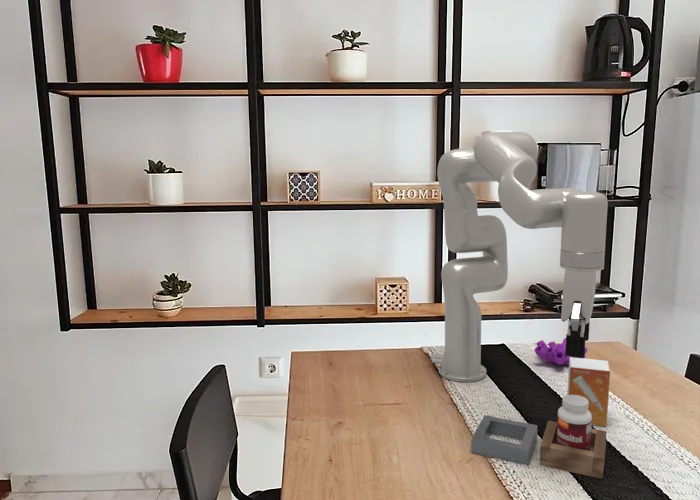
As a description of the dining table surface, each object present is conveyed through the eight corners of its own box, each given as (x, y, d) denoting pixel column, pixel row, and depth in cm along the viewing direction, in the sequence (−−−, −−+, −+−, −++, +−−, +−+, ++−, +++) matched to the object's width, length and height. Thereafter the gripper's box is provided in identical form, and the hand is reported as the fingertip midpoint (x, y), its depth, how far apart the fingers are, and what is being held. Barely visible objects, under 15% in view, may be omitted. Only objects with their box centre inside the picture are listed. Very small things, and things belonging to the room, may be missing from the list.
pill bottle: (551, 453, 108) (553, 401, 107) (562, 440, 113) (564, 390, 111) (583, 464, 104) (586, 409, 103) (594, 450, 109) (597, 398, 107)
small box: (567, 422, 123) (569, 366, 120) (566, 409, 129) (568, 356, 126) (607, 427, 120) (610, 370, 118) (604, 414, 126) (607, 359, 123)
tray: (539, 465, 107) (540, 445, 106) (547, 438, 116) (548, 420, 115) (602, 478, 102) (603, 458, 101) (605, 449, 111) (606, 431, 111)
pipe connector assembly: (587, 375, 155) (600, 356, 148) (536, 379, 154) (547, 360, 147) (571, 341, 163) (583, 322, 156) (522, 344, 161) (532, 325, 154)
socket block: (471, 452, 111) (471, 438, 111) (484, 428, 121) (484, 415, 121) (528, 465, 107) (528, 450, 106) (536, 438, 116) (537, 425, 116)
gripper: (565, 250, 112) (561, 331, 115) (554, 267, 97) (550, 360, 100) (606, 252, 108) (601, 336, 111) (601, 270, 93) (595, 367, 96)
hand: (577, 347), depth 106 cm, fingers open, 9 cm apart
